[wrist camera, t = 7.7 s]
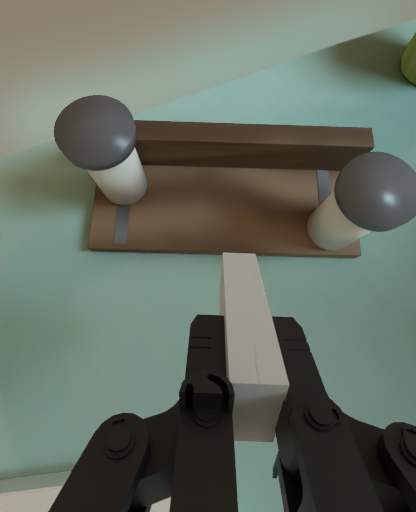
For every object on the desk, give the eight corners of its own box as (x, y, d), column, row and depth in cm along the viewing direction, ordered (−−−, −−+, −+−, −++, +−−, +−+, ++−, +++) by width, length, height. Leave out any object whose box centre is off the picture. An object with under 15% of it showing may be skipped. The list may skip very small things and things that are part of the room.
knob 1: (151, 211, 27) (130, 163, 19) (93, 209, 27) (47, 161, 19) (155, 160, 28) (137, 96, 20) (99, 158, 28) (60, 93, 20)
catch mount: (355, 257, 27) (388, 243, 22) (91, 250, 27) (67, 234, 22) (344, 159, 30) (371, 127, 25) (104, 152, 30) (85, 118, 25)
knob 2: (361, 257, 26) (429, 227, 18) (302, 255, 26) (345, 225, 18) (355, 202, 27) (415, 153, 19) (298, 200, 27) (337, 150, 19)
